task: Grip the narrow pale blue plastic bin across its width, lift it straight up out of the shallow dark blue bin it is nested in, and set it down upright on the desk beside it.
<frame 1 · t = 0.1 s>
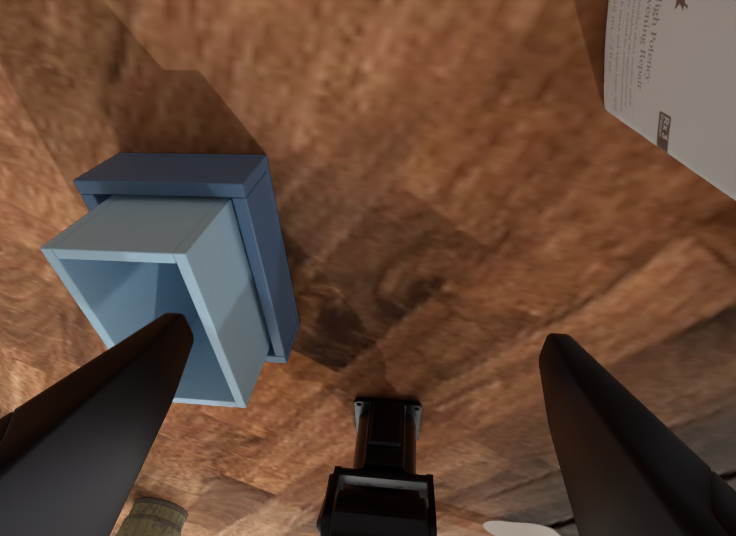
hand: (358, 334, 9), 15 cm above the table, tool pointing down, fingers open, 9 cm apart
thermos: (162, 507, 62), on the table
top bin: (219, 255, 27), resting on lower bin
cosmetic box: (657, 32, 17), on the table
lower bin: (222, 251, 27), on the table
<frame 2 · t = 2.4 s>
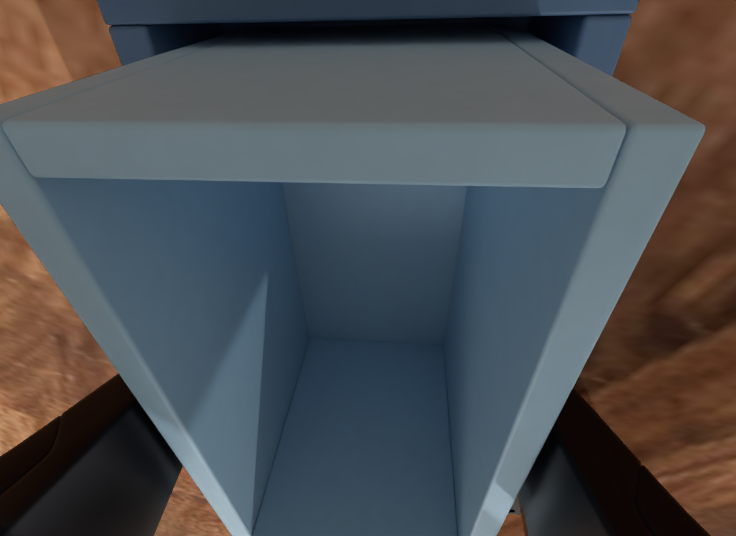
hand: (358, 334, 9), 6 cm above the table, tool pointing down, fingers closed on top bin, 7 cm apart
top bin: (374, 226, 13), resting on lower bin, touching gripper
lower bin: (376, 219, 14), on the table
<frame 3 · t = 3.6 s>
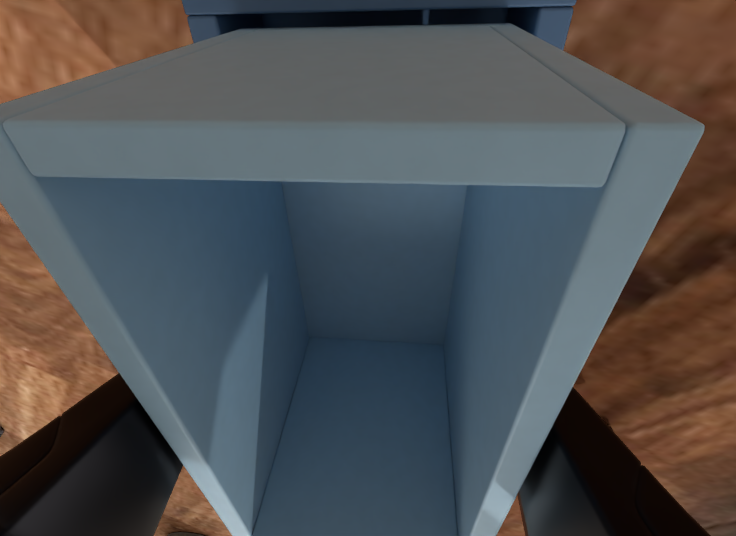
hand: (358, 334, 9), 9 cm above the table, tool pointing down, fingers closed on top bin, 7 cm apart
top bin: (374, 226, 13), point 4 cm above the table, touching gripper
lower bin: (382, 184, 16), on the table
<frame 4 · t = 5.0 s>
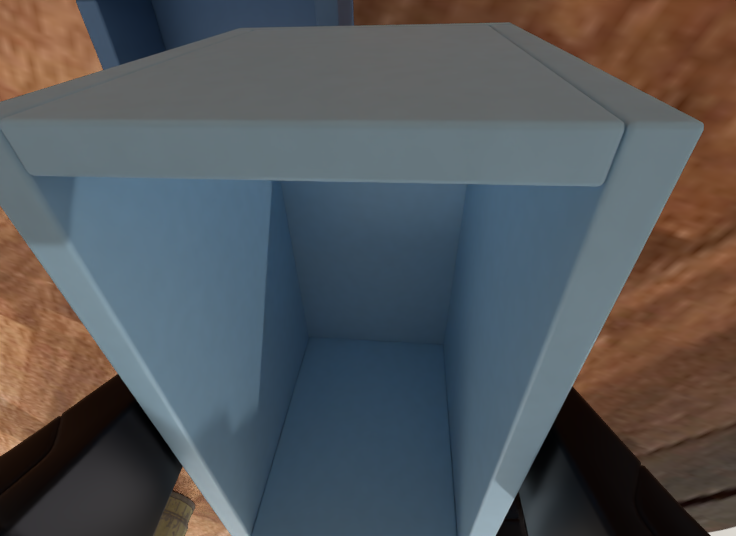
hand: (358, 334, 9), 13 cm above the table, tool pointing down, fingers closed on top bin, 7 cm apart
thermos: (166, 498, 55), on the table
top bin: (374, 226, 13), point 8 cm above the table, touching gripper
lower bin: (269, 142, 20), on the table
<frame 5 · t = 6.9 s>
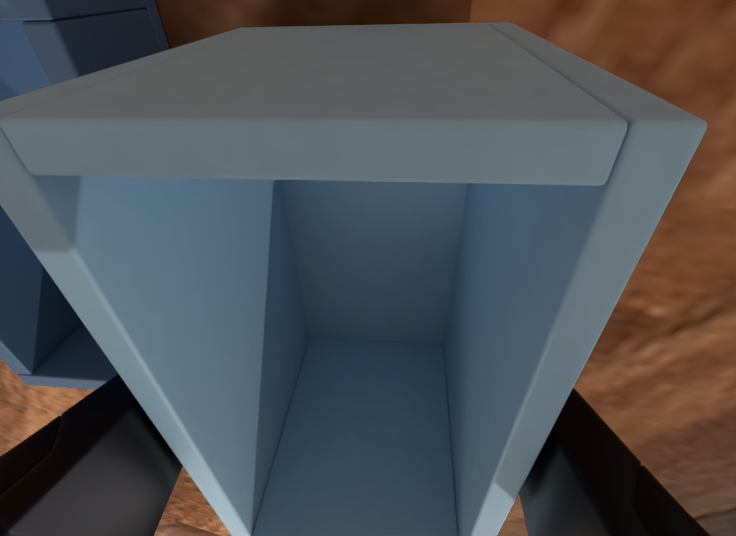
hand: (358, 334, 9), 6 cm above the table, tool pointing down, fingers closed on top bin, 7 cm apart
top bin: (374, 226, 13), point 1 cm above the table, touching gripper
lower bin: (106, 202, 15), on the table
when the fingers open (5 cm above the table, at t = 7.9 s): top bin stays where it is, on the table.
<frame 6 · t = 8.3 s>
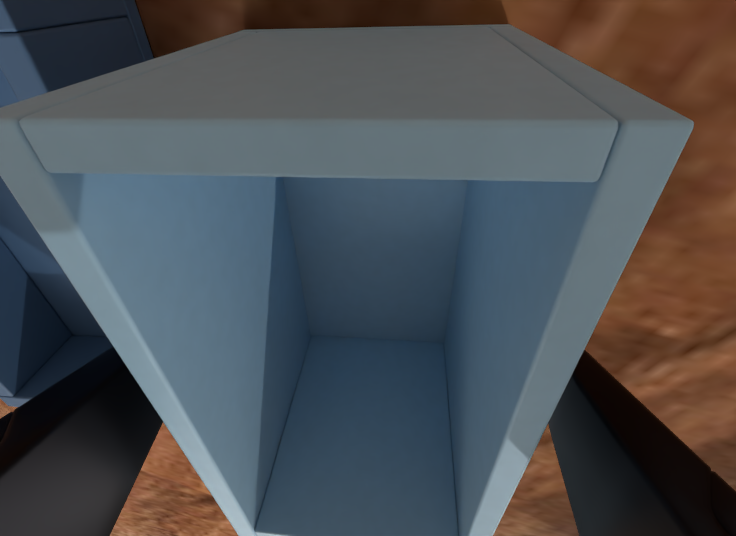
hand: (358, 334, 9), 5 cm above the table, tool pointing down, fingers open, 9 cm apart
top bin: (375, 225, 13), on the table
lower bin: (91, 217, 15), on the table
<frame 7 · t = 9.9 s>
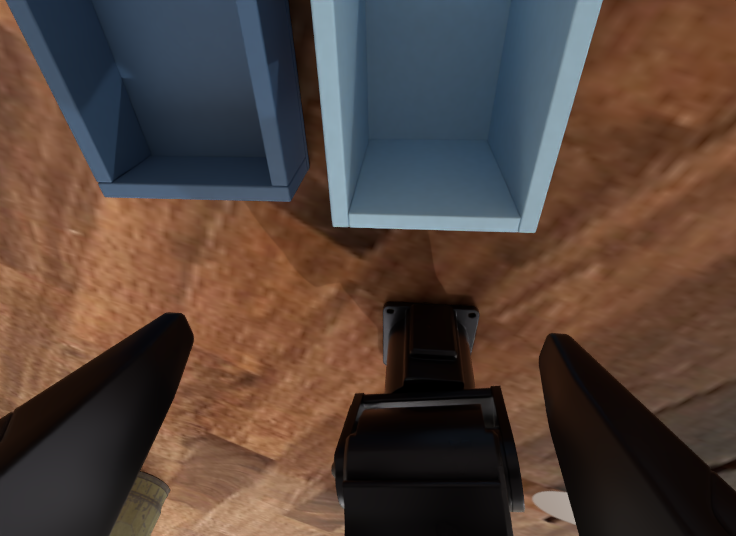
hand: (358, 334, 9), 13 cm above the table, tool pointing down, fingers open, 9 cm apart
thermos: (138, 481, 52), on the table
top bin: (436, 5, 16), on the table
lower bin: (186, 12, 17), on the table
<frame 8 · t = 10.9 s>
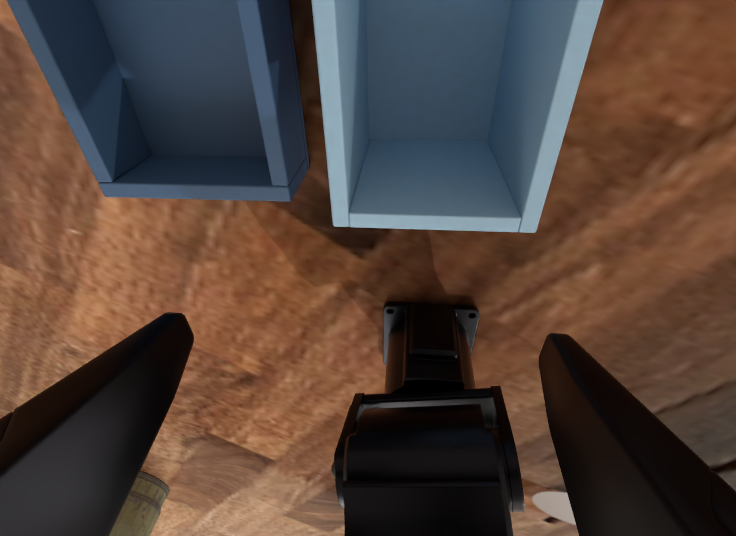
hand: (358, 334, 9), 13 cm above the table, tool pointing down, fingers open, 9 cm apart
thermos: (138, 481, 52), on the table
top bin: (436, 5, 16), on the table
lower bin: (187, 12, 17), on the table
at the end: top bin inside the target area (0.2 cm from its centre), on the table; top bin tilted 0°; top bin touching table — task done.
